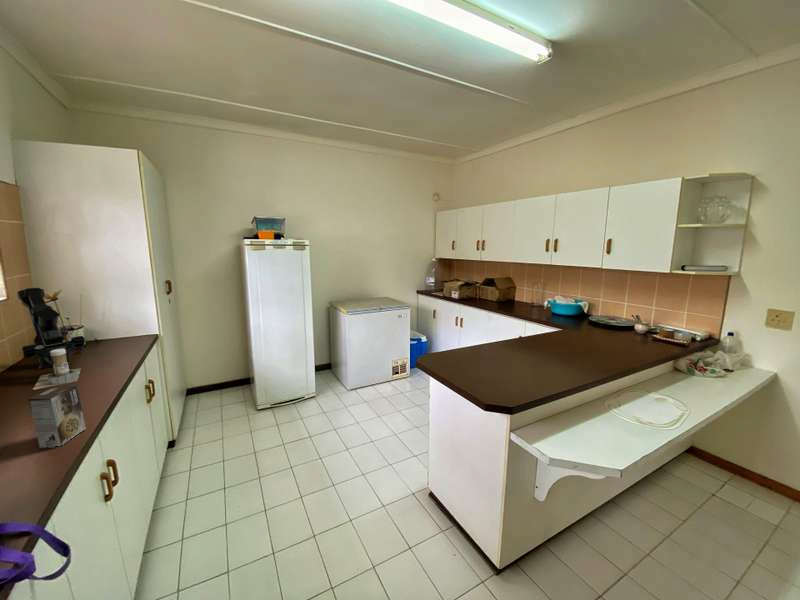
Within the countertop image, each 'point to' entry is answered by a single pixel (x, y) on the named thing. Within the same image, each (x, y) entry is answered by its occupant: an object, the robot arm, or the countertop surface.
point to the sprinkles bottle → (59, 362)
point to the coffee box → (57, 415)
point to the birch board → (44, 381)
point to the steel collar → (62, 377)
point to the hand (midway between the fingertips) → (60, 362)
